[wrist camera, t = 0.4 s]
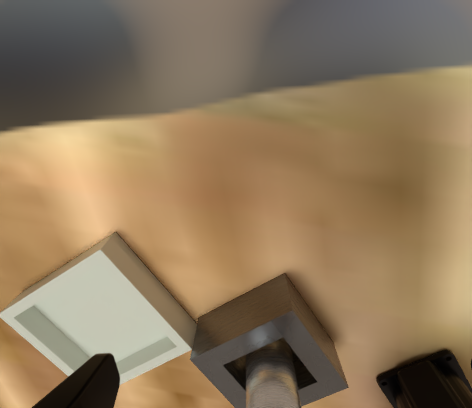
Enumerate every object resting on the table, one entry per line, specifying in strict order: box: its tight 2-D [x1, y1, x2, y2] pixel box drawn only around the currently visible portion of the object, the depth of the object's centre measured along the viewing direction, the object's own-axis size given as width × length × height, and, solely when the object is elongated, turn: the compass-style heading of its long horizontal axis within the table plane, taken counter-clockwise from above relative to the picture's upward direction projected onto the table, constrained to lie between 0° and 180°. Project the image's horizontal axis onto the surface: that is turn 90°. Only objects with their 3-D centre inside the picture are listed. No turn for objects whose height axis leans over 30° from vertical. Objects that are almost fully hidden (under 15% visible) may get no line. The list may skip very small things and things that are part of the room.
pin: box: [246, 338, 301, 408], centre depth 20 cm, size 5×5×10 cm
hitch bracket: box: [190, 273, 349, 408], centre depth 23 cm, size 8×8×4 cm
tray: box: [0, 232, 197, 385], centre depth 23 cm, size 10×10×2 cm
